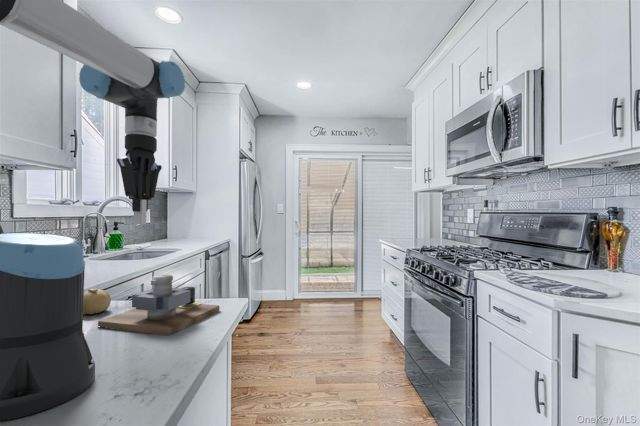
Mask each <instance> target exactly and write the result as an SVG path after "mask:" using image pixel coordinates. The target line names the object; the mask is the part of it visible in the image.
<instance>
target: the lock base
mask: <svg viewBox="0 0 640 426" xmlns="http://www.w3.org/2000/svg"><path fill="white" fill-rule="evenodd" d="M173 281H174V276H173V275H172V274H158V275H154V276H152V279H151V280H150V285H151V286H152V287H151V289H152V295H160V296H164V295H168V294H171V293H172V288H173ZM218 312H220V305H218V304H217V305H216V304H205V303H200V302H199V303H198V302H195V303H192V304H184V305H181V306H179V307H176V308H174V309H171V310H169V311H168V310H158V311H149V310H138V309H136V308H133V309H130V310H126V311H124V312H120V313H118V314H115V315H112V316H109V317H106V318H102V319H101V320H98V321H97V327H98V326H100V327H107V328H106V329H108V328H114V329H113V330H117V329H119V331H125V330H129V331H128V332H134V331H135V333H143V334H150V335H151V334H152V335H159V336H160V335H161V336H168V337H169V336H172V335H173V334H175V333H177V332H180V331H181V330H183V329H185V328H188V327H189V326H192V325H194V324H196V323H198V322H200V321H202V320H204V319H206V318H208V317H210V316H212V315H214V314H216V313H218ZM100 327H99V328H100Z"/></svg>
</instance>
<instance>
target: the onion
mask: <svg viewBox="0 0 640 426" xmlns="http://www.w3.org/2000/svg"><path fill="white" fill-rule="evenodd" d="M111 302H112V297H111V295H110V293H109V292H107V291H106V290H103V289H100V287H98V288H89V289H88V290H86V291H84V297H83V315H84V314H89V315H93V314H94V313H96V314H98V313H102V311H103V312H105V311H106V310H108V309H109V307H110V306H111ZM94 315H95V314H94Z"/></svg>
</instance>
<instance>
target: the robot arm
mask: <svg viewBox="0 0 640 426" xmlns="http://www.w3.org/2000/svg"><path fill="white" fill-rule="evenodd" d="M0 25H1V26H3V27H5V28H6V29H8V30H10V31H14V32H15V33H18V34H19V35H22V36H23V37H26V38H28V39H29V40H33V41H35V42H36V43H38V44H40V45H43V46H45V47H47V48H49V49H52V50H54V51H55V52H57V53H60V54H62V55H64V56H66V57H68V58H70V59H72V60H74V61H77V62H79V63H80V64H83V65H82V67H81V69H80V70H79V75H78V76H79V78H78V81H79V84H80V86H81V88H82V89H83V90H84V91H85V92H86V93H88V94H90V95H93V96H94V97H96V98H97V99H101V100H102V101H103V100H104V101H106V102H109V103H112V104H113V105H116V106H119V107H121V108H123V109H124V119H125V121H124V133H125V136H124V149H125V150H126V152H125V155H124V156H123V157H120V158H119V157H118V158H117V159H116V161H117V164H118V166H119V169H120V173H121V179H122V184H123V190H124V194H125V197H128V199H129V200H132V201H131V204H132V206H131V209H132V212H133V225H147V212H148V208H149V200H152V198H155V194H156V189H157V185H158V184H157V183H158V179H159V174H160V173H161V170H162V167H163V166H162V165H161V164H159V165H158V164H157V163H156V158H155V153H156V152H157V150H158V149H157V145H158V143H157V142H158V139H157V138H156V137H157V134H158V132H157V131H158V130H157V129H158V127H157V126H158V99H170V98H174V97H179V96H181V95H182V94H183V93H184V91H185V88H186V85H185V84H186V80H185V76H184V73H183V70H182V69H181V68H180V65H178V64H177V63H176V62H174V61H168V60H167V61H166V60H160V61H157V60H155V59H153V58H152V57H151V56H150V57H149V56H148V55H146V54H145V53H144V52H142V51H140V50H139V49H138V48H136V47H134V46H133V45H131V44H130V43H129V42H127V41H125V40H123V39H122V38H120V37H119V36H117V35H116V34H115V33H112V32H111V31H110V30H108V29H106V28H105V27H103V26H102V25H100V24H98V22H96V21H94V20H92V19H91V18H89V17H88V16H86V15H84V14H83V13H81V12H79V10H77V9H75V8H74V7H72V6H71V5H69V4H67V3H66V2H64V1H63V0H0ZM85 269H86V261H85V259H84V248H83V245H82V244H81V242H80V241H78V240H77V239H74V238H72V237H69V236H65V235H64V236H63V235H56V234H47V233H45V234H42V233H41V234H40V233H26V232H25V233H24V232H21V233H19V232H17V233H16V232H15V233H5V231H4V229H3V227H2V224H1V223H0V422H1V421H7V420H12V419H13V420H14V419H17V418H23V417H25V416H29V415H33V414H37V413H41V412H42V411H46V410H48V409H51V408H54V407H56V406H58V405H61V404H64V403H65V402H68V401H70V400H72V399H74V398H75V397H77V396H79V395H80V394H82V393H84V392H85V391H86V390H87V389H89V388H90V386H92V384H93V383H94V382H95V378H96V363H95V359H94V358H93V356H92V352H91V350H90V347H89V345H88V342H87V340H86V337H85V334H84V330H83V329H84V328H83V326H84V325H83V319H84V318H83V317H84V314H83V297H84V293H85Z"/></svg>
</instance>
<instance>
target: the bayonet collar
mask: <svg viewBox="0 0 640 426" xmlns="http://www.w3.org/2000/svg"><path fill="white" fill-rule="evenodd" d="M192 303H196V287H194V286H185V287H181V288H179V287H178V288H177V287H172V293H171V294H168V295H164V296H160V295H152V288H151V289H148V290H144V291H141V292H137V293H134V294H131V308H134V309H138V310H149V311H158V310H168V311H169V310H171V309H174V308H176V307H179V306H181V305H184V304H192Z"/></svg>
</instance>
